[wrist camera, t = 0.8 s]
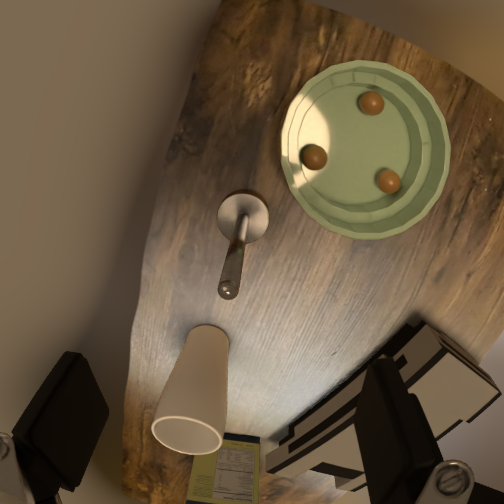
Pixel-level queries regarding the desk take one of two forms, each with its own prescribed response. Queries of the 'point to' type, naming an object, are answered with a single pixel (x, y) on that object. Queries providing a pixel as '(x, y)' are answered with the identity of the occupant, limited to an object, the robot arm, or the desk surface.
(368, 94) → the bead
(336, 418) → the game console
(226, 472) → the protein box
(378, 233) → the bowl
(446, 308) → the desk surface
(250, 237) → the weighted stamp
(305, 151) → the bead
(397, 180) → the bead
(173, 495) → the desk surface
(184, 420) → the drinking glass
